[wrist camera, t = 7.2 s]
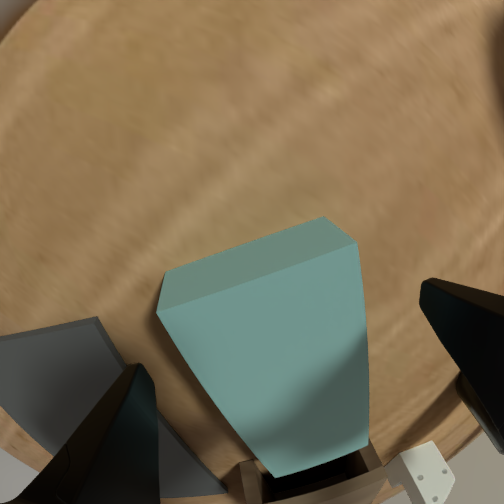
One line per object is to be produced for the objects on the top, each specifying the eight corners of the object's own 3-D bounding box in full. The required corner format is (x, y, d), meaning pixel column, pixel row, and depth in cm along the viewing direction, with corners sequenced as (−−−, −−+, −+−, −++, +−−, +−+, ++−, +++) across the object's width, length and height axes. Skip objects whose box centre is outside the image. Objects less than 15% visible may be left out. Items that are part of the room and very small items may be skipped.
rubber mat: (111, 492, 18) (110, 496, 18) (-40, 343, 10) (-44, 348, 9) (227, 488, 19) (228, 492, 18) (97, 316, 10) (93, 323, 10)
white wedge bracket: (376, 481, 19) (434, 519, 13) (415, 428, 25) (463, 461, 20) (359, 494, 20) (412, 531, 14) (400, 445, 27) (445, 476, 21)
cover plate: (266, 441, 16) (275, 478, 14) (166, 266, 11) (156, 312, 8) (351, 411, 16) (368, 445, 14) (319, 213, 11) (357, 242, 8)
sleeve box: (265, 497, 21) (274, 535, 17) (239, 462, 17) (249, 519, 12) (353, 472, 22) (368, 507, 17) (363, 426, 17) (388, 476, 13)
